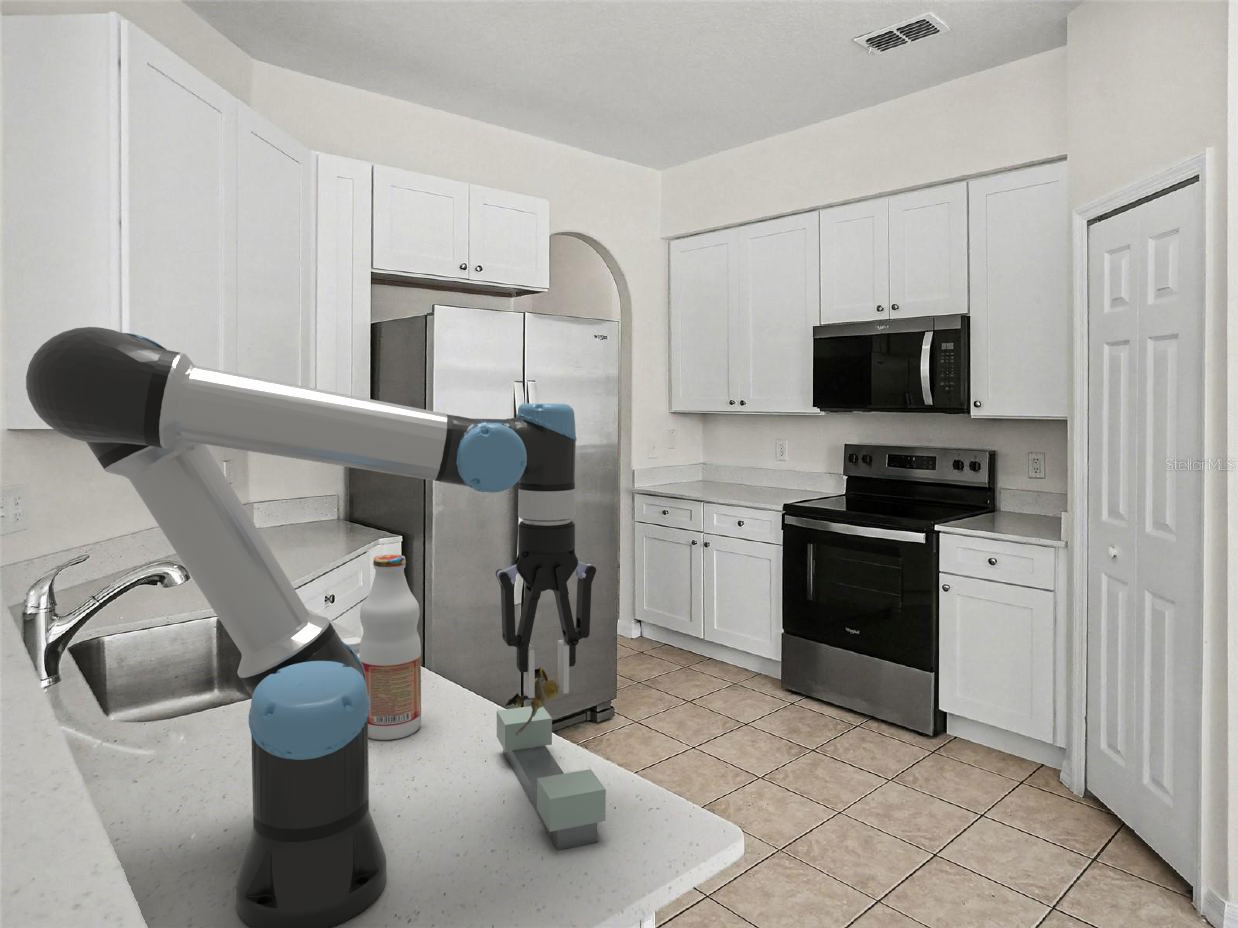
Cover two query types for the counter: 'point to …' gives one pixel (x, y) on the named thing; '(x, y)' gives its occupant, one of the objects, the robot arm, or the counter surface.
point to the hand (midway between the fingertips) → (546, 691)
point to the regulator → (537, 695)
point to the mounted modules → (557, 795)
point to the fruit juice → (391, 652)
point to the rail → (527, 770)
